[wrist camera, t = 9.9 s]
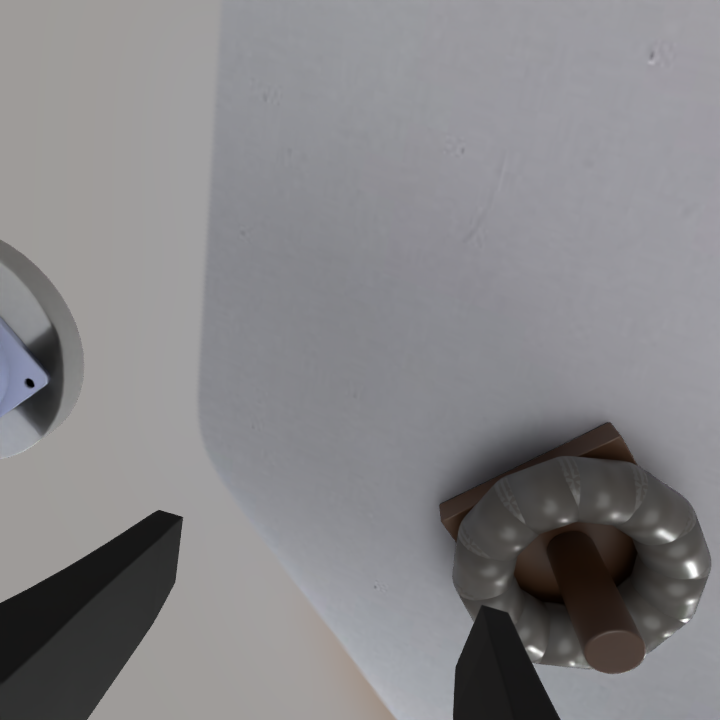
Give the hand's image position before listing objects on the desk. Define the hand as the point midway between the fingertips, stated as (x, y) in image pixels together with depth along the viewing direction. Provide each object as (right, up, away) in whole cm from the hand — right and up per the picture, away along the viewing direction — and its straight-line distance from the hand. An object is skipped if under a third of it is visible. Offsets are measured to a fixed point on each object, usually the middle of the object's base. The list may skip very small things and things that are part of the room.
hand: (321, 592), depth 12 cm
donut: (+10, -3, +9) cm, 13 cm away
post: (+10, -2, +11) cm, 15 cm away
